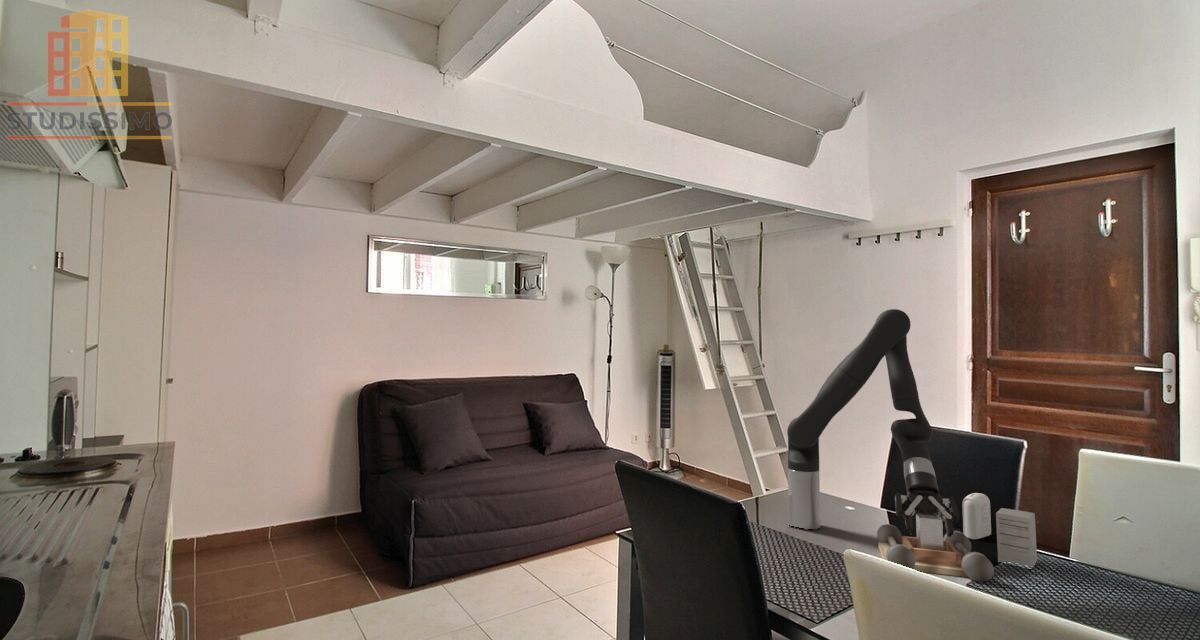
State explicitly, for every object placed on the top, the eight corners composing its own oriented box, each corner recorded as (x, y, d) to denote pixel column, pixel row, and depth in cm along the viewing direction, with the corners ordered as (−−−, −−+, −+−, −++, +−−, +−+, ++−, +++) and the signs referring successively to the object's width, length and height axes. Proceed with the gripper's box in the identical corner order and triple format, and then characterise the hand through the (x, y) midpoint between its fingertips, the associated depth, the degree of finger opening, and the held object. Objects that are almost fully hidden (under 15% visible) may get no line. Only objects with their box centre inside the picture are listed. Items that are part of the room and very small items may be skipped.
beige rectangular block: (921, 558, 142) (919, 517, 143) (917, 552, 147) (915, 512, 148) (943, 561, 141) (942, 519, 141) (939, 554, 145) (937, 514, 146)
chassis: (888, 570, 138) (887, 545, 138) (877, 545, 157) (876, 523, 158) (994, 583, 130) (993, 556, 131) (969, 555, 150) (968, 531, 150)
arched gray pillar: (977, 531, 171) (976, 490, 172) (993, 535, 168) (991, 492, 169) (961, 537, 166) (959, 494, 167) (977, 541, 162) (975, 497, 163)
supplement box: (1003, 556, 149) (1001, 507, 150) (1038, 563, 144) (1035, 512, 145) (996, 562, 144) (994, 512, 145) (1033, 570, 139) (1030, 518, 140)
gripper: (892, 468, 155) (900, 522, 143) (952, 472, 150) (965, 528, 138) (890, 484, 159) (897, 537, 148) (948, 488, 155) (960, 544, 143)
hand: (930, 533), depth 143 cm, fingers open, 8 cm apart
